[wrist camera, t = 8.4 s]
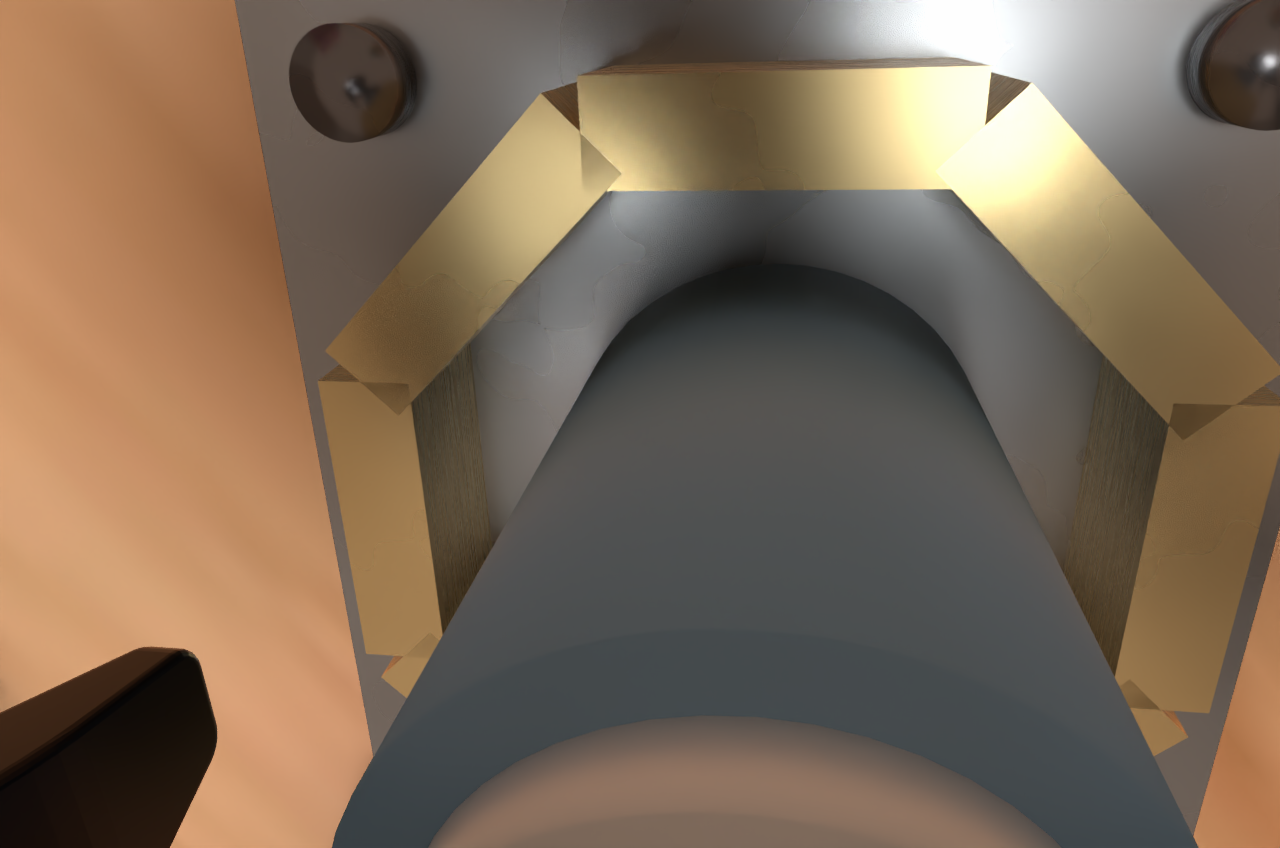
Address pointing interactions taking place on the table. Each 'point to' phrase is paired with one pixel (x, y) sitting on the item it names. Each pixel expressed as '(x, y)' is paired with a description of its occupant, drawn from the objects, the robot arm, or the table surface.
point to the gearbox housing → (797, 235)
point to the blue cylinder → (769, 614)
